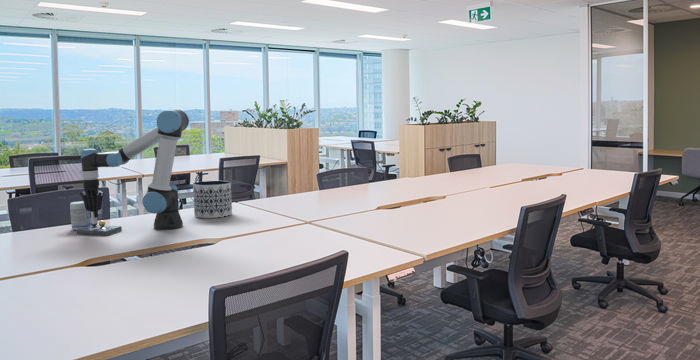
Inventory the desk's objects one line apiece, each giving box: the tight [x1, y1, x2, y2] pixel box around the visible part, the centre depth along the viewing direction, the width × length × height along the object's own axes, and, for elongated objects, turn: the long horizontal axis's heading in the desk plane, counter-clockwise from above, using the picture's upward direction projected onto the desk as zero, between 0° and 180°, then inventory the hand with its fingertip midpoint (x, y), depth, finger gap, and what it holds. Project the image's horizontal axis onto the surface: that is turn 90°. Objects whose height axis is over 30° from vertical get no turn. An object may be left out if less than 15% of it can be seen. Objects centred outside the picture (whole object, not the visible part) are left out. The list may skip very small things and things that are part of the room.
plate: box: [75, 224, 123, 237], centre depth 280 cm, size 18×12×2 cm, turn 75°
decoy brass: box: [98, 220, 106, 227], centre depth 283 cm, size 3×3×3 cm
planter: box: [192, 180, 233, 219], centre depth 325 cm, size 22×22×20 cm
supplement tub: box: [69, 200, 92, 231], centre depth 290 cm, size 10×10×15 cm
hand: (94, 223), depth 279 cm, fingers closed
